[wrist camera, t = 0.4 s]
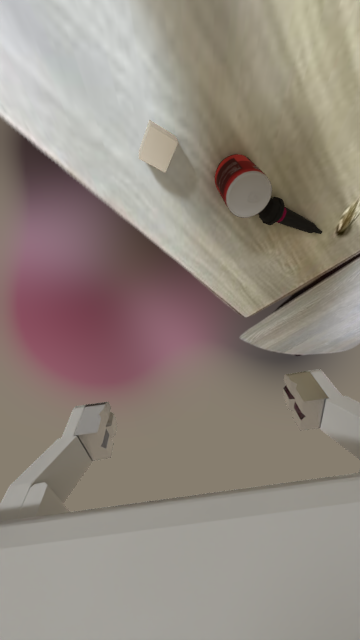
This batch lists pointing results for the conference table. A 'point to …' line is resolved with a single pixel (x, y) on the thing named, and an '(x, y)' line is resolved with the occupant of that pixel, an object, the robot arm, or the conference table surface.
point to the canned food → (242, 186)
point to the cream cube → (157, 146)
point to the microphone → (285, 216)
